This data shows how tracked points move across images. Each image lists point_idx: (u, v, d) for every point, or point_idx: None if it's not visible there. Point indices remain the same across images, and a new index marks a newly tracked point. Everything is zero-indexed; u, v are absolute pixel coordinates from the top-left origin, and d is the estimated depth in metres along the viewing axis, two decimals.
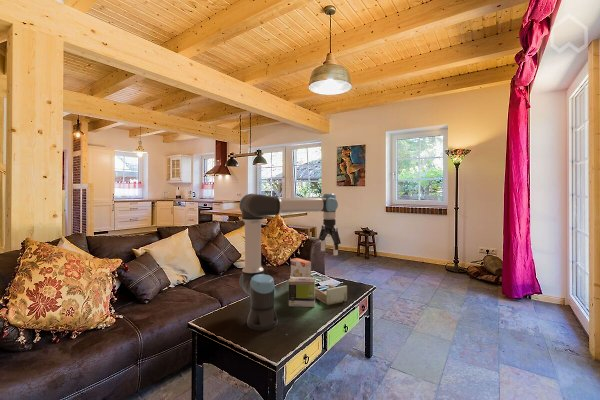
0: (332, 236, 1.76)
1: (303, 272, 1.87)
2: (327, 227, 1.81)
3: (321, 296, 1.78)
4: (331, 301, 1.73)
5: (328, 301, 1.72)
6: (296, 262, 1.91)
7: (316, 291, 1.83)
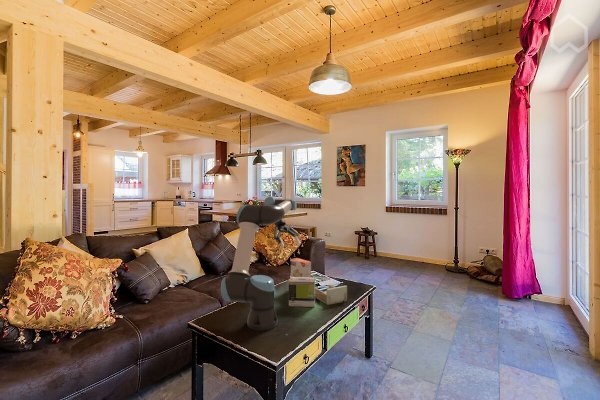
0: (291, 231, 2.09)
1: (303, 272, 1.87)
2: None
3: (321, 296, 1.78)
4: (331, 301, 1.73)
5: (328, 301, 1.72)
6: (296, 262, 1.91)
7: (316, 291, 1.83)
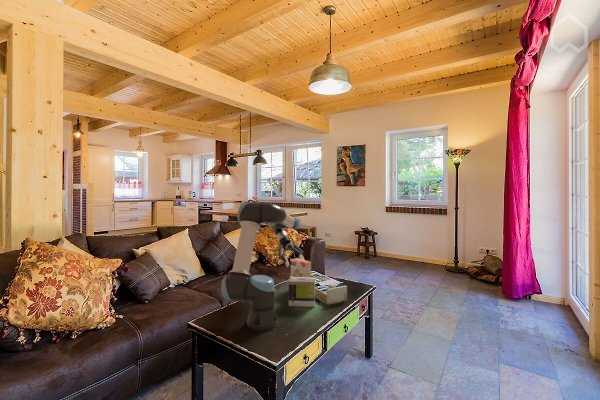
0: (296, 248, 2.06)
1: (303, 272, 1.87)
2: (286, 244, 2.05)
3: (321, 296, 1.78)
4: (331, 301, 1.73)
5: (328, 301, 1.72)
6: (296, 262, 1.91)
7: (316, 291, 1.83)
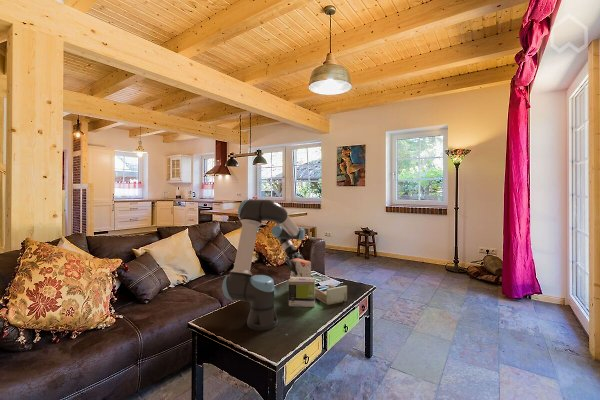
0: None
1: (303, 272, 1.87)
2: (291, 253, 1.99)
3: (321, 296, 1.78)
4: (331, 301, 1.73)
5: (328, 301, 1.72)
6: (296, 262, 1.91)
7: (316, 291, 1.83)
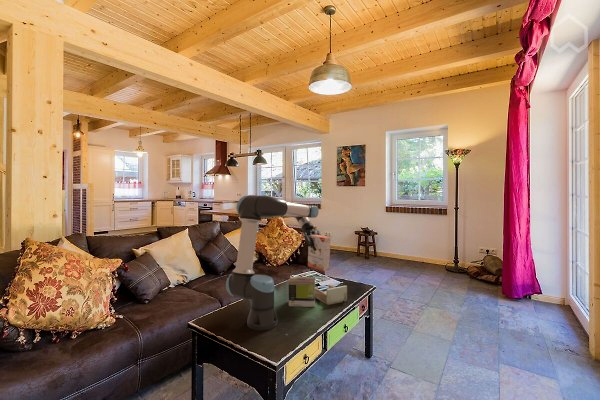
0: None
1: (322, 248, 1.81)
2: (309, 229, 1.93)
3: (321, 296, 1.78)
4: (331, 301, 1.73)
5: (328, 301, 1.72)
6: (315, 237, 1.86)
7: (316, 291, 1.83)
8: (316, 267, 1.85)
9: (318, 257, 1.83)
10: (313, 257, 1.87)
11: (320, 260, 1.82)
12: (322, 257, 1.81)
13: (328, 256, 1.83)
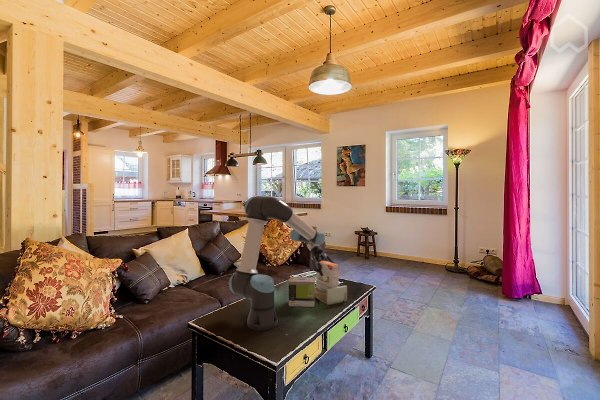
0: (328, 260, 1.88)
1: (330, 276, 1.76)
2: (318, 253, 1.88)
3: (321, 296, 1.78)
4: (331, 301, 1.73)
5: (328, 301, 1.72)
6: (322, 265, 1.80)
7: (316, 291, 1.83)
8: None
9: (326, 285, 1.78)
10: (321, 285, 1.82)
11: None
12: (330, 285, 1.76)
13: (337, 284, 1.78)
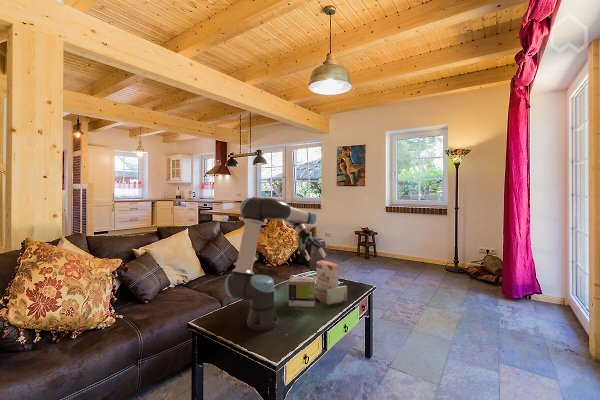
0: (315, 242, 1.99)
1: (330, 276, 1.76)
2: (306, 237, 1.98)
3: (321, 296, 1.78)
4: (331, 301, 1.73)
5: (328, 301, 1.72)
6: (322, 265, 1.80)
7: (316, 291, 1.83)
8: None
9: (326, 285, 1.78)
10: (321, 285, 1.82)
11: None
12: (330, 285, 1.76)
13: (336, 284, 1.78)
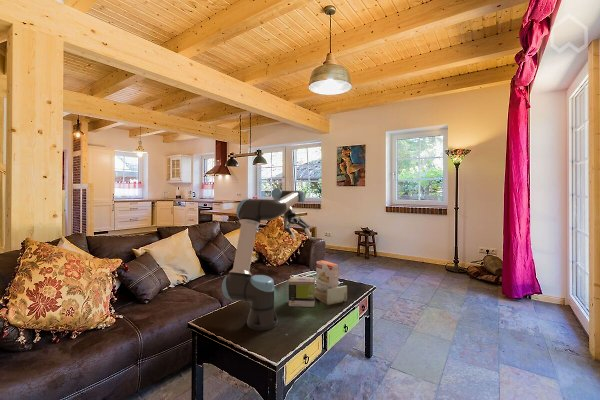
0: (301, 222, 2.02)
1: (330, 276, 1.76)
2: (292, 217, 2.01)
3: (321, 296, 1.78)
4: (331, 301, 1.73)
5: (328, 301, 1.72)
6: (322, 265, 1.80)
7: (316, 291, 1.83)
8: None
9: (326, 285, 1.78)
10: (321, 285, 1.82)
11: None
12: (330, 285, 1.76)
13: (336, 284, 1.78)
